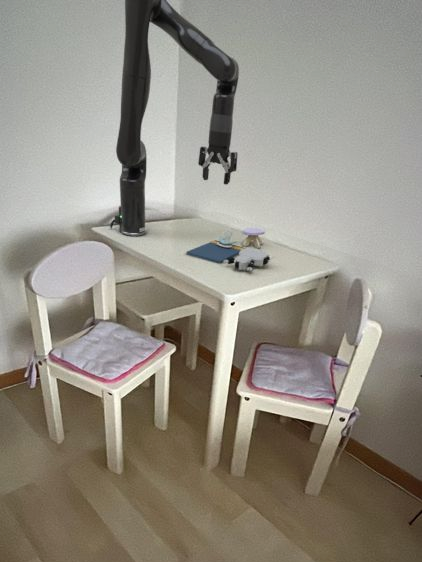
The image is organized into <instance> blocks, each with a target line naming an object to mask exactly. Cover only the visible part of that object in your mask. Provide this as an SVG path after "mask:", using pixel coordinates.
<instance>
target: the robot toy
mask: <svg viewBox="0 0 422 562" xmlns="http://www.w3.org/2000/svg"><path fill="white" fill-rule="evenodd" d="M243 247H244V248H243V249H242V250H241V251H239V252H238V255H237V256H235V257H231V258H227V260H224V261H223V262H222V263H224V264H228V265H232V264H233V269H237V270H239V271H244V272H246V271H249V272H253V270H254V267H259V268H261V267H263V266H266V265H267V264H269V263H270V262H271V261H272V260H273V258H275V255H272V257H270V254H269V253H268V252H266V251H264V250H261V249H259V248H252V247H247V246H243Z"/></svg>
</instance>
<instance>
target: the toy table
mask: <svg viewBox="0 0 422 562" xmlns="http://www.w3.org/2000/svg"><path fill="white" fill-rule="evenodd" d="M265 233H266V230H265V229H262V228H257V227H255V228H254V227H249V228H243V229H242V230H241V234H243V235H245V236H247V237H246V238H244V241H243V242H242V247H249V246H250V243H251V241H253V244H254V247H255V249H261V245H262V244H263V241H262V240H261V239H260V237H259V236H262V235H264V234H265Z"/></svg>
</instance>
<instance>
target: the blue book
mask: <svg viewBox="0 0 422 562" xmlns="http://www.w3.org/2000/svg"><path fill="white" fill-rule="evenodd" d="M218 242H219V240H211V241H209V242H207V243H205V244H202V245H200V246H198V247H195V248H192V249H190V250H187V251H186V255H187V256H191V257H195V258H199V259H202V260H206V261H208V262H214V263H216V264H222V263H224V262H223V261H224V260H227V258H231V257H233V258H236V257H238V252H239V251H241V250H242V249H243V248H244V247H245V246H239V245H235V244H231V245H232V247H231V248H226V247H221V246H219V245H217V243H218ZM221 245H222V244H221Z"/></svg>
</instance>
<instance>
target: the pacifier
mask: <svg viewBox="0 0 422 562" xmlns="http://www.w3.org/2000/svg"><path fill="white" fill-rule="evenodd" d="M232 235H233V230H232V229H231V228H229V227H228V228H226V229H225V231H224V236H225V237H223V236H218V241H219V242H218V243H217V245H219V246H221V247H226V248H231V247H232V245H235V244H236V243H237V241H231V237H232ZM221 244H222V245H221ZM231 244H232V245H231Z"/></svg>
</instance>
